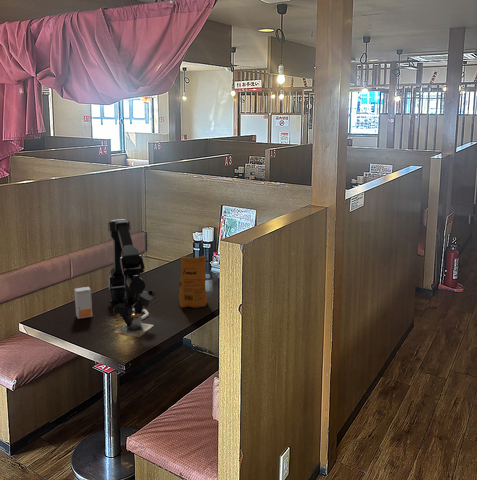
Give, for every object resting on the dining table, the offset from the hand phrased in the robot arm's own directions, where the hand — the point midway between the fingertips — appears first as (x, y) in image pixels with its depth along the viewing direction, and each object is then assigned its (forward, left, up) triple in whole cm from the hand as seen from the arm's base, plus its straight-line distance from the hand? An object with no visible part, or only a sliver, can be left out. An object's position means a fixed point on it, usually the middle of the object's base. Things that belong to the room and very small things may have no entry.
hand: (134, 322), depth 199 cm
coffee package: (+10, +32, -3) cm, 34 cm away
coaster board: (0, 0, -3) cm, 3 cm away
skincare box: (-26, +4, -3) cm, 26 cm away
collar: (-7, +12, -3) cm, 14 cm away
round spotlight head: (0, 0, -2) cm, 2 cm away
